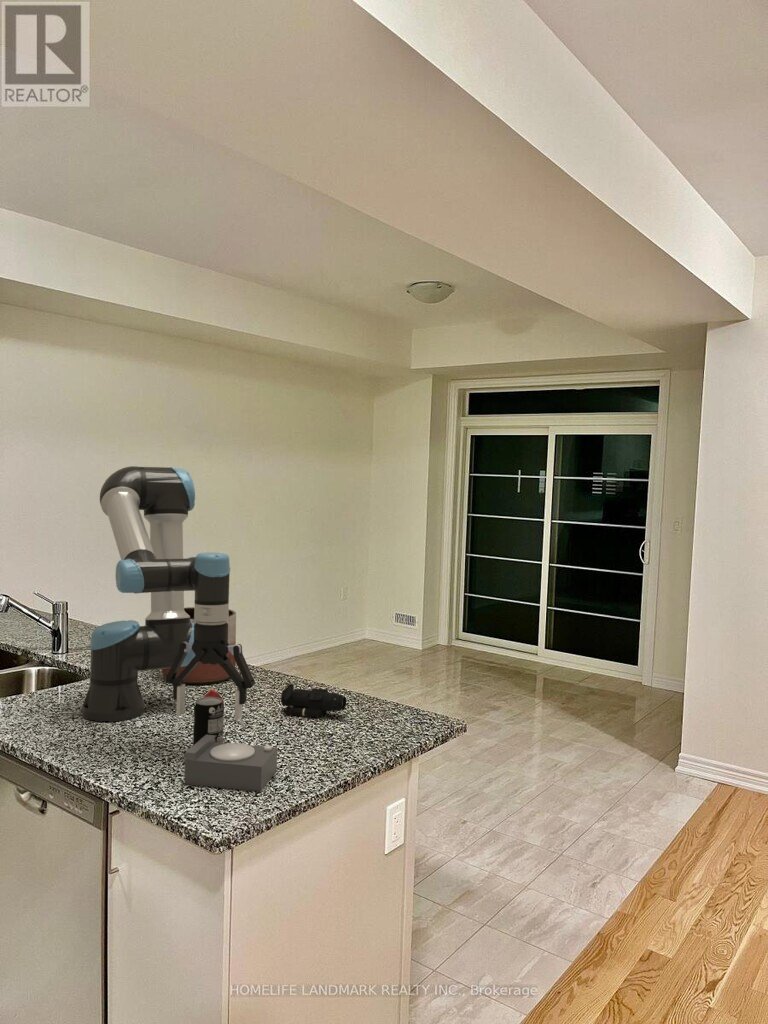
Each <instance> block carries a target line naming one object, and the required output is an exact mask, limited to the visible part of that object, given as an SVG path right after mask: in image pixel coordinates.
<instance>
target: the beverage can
mask: <svg viewBox="0 0 768 1024" xmlns="http://www.w3.org/2000/svg"><path fill="white" fill-rule="evenodd" d="M222 699H223V698H222ZM222 699H221V698H218V697H204V696H203V697H200V698H198V699H196V700H195V702H196V704H195V705H194V707H193V727H192V728H193V731H192V732H193V733H192V735H193V736H192V746H193V745H195V744H196V743H197V742H198V741H199V740H200V739H201V738H203V737H204V736H205V735H215V742H218V743H224V720H225V719H224V718H225V717H224V715H225V714H224V713H225V711H224V710H225V705H224V706H223V704H222Z"/></svg>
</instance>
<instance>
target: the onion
mask: <svg viewBox="0 0 768 1024" xmlns="http://www.w3.org/2000/svg"><path fill="white" fill-rule="evenodd" d="M203 697H218V698H221V699H222V704H223V706H224V707H225V704H224V703H225V702H224V699H223V698H222V696H221V695H220V693H218V692H217V691H216V690H215V689H214V688H213V687H210V689H209V691H208V692H207V693H206V694H204V696H203Z"/></svg>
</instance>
